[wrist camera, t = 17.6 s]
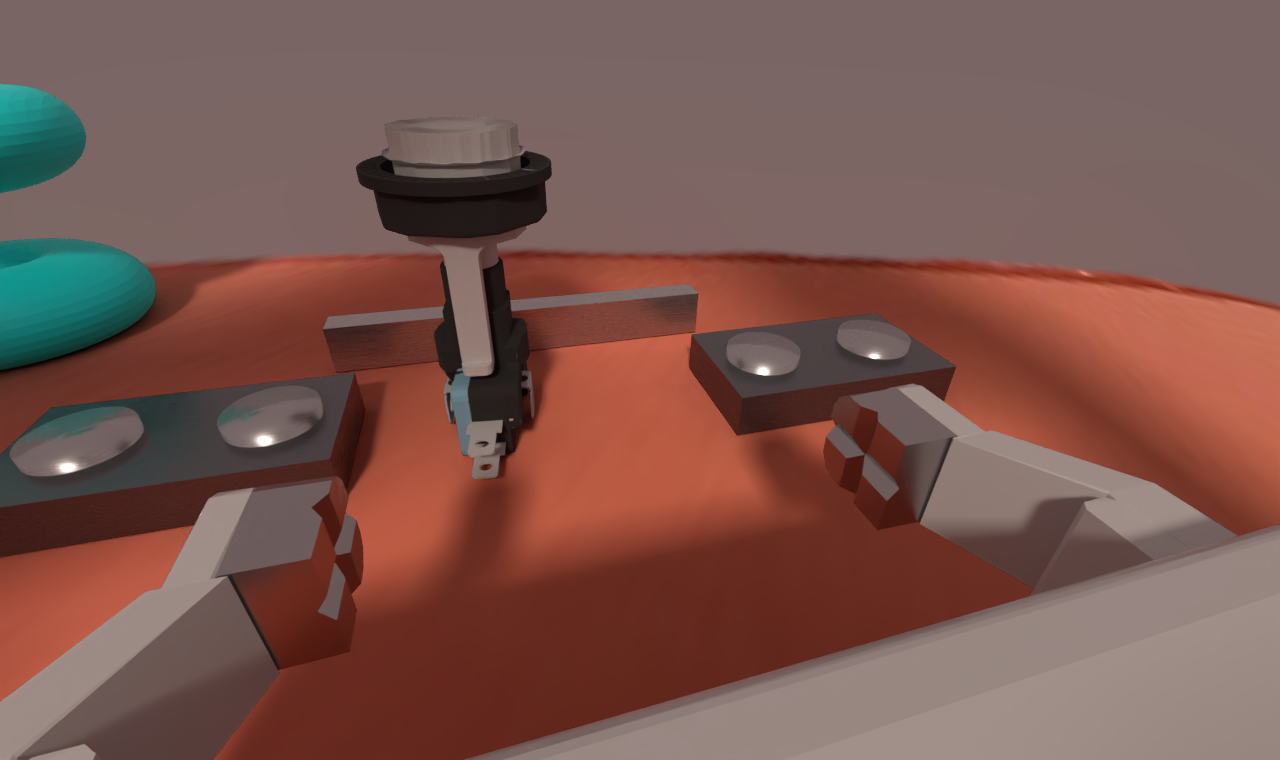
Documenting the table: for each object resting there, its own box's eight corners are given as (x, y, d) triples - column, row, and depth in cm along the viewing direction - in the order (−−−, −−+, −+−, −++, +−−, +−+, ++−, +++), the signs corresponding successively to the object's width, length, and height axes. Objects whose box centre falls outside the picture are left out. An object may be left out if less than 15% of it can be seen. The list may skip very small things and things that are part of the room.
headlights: (-29, 561, 15) (-78, 505, 14) (136, 380, 22) (113, 335, 21) (943, 401, 22) (959, 357, 21) (817, 307, 30) (824, 271, 29)
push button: (570, 485, 18) (549, 148, 12) (394, 499, 17) (295, 148, 12) (563, 377, 23) (548, 113, 18) (431, 384, 23) (375, 112, 17)
